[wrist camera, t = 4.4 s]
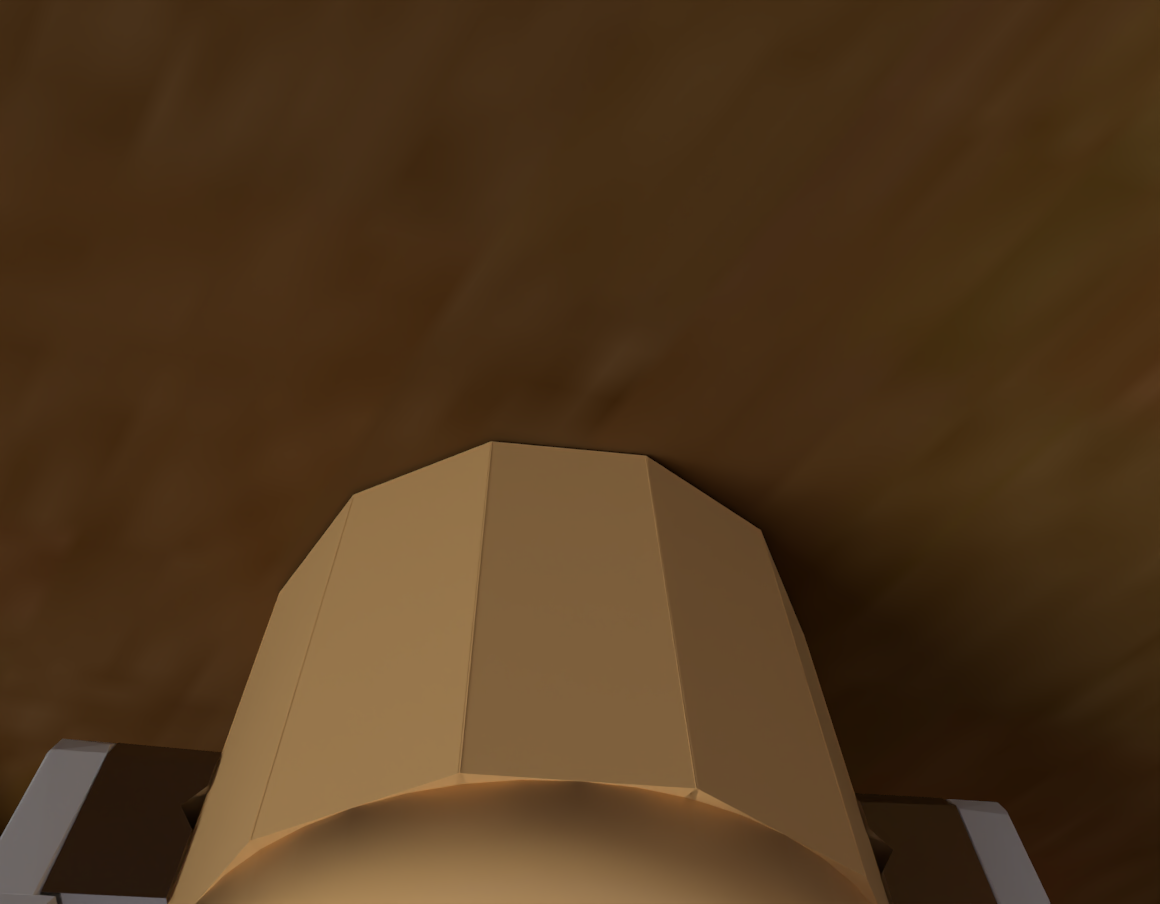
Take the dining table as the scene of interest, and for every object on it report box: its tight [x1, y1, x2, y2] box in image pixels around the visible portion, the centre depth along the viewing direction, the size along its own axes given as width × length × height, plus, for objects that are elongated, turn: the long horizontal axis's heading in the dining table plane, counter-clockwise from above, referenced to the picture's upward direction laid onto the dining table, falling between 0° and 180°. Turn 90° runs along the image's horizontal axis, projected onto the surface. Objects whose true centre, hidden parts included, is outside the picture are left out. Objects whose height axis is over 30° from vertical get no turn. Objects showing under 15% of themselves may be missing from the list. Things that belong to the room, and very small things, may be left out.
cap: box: [168, 441, 889, 904], centre depth 10 cm, size 6×6×6 cm
